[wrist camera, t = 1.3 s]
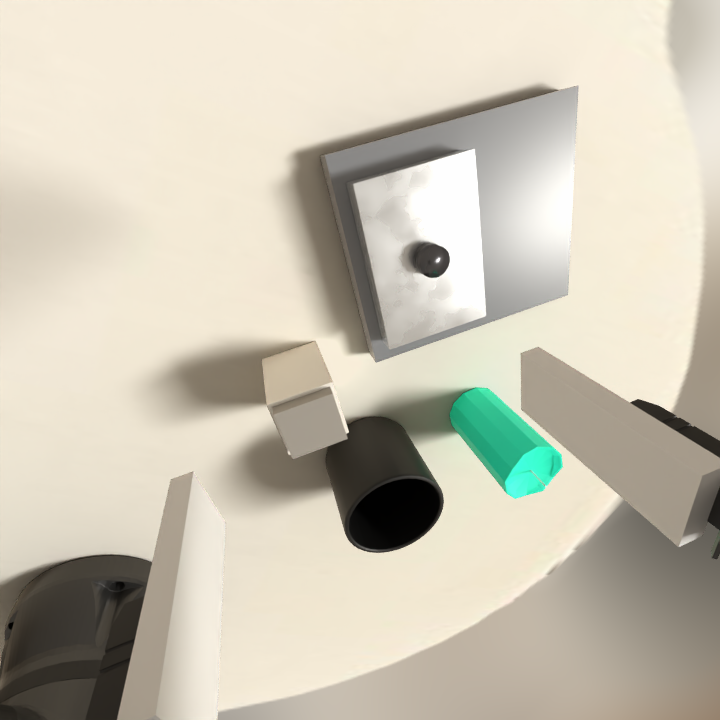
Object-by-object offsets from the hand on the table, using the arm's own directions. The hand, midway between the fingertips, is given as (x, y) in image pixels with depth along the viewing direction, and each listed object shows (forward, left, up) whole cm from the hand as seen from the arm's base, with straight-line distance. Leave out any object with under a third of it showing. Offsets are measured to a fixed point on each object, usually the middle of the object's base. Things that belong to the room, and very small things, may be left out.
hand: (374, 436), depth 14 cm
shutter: (+10, 0, -18) cm, 21 cm away
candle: (+14, -20, -21) cm, 32 cm away
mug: (+2, -21, -21) cm, 29 cm away
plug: (-3, -8, -20) cm, 22 cm away
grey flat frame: (+14, 0, -20) cm, 25 cm away
